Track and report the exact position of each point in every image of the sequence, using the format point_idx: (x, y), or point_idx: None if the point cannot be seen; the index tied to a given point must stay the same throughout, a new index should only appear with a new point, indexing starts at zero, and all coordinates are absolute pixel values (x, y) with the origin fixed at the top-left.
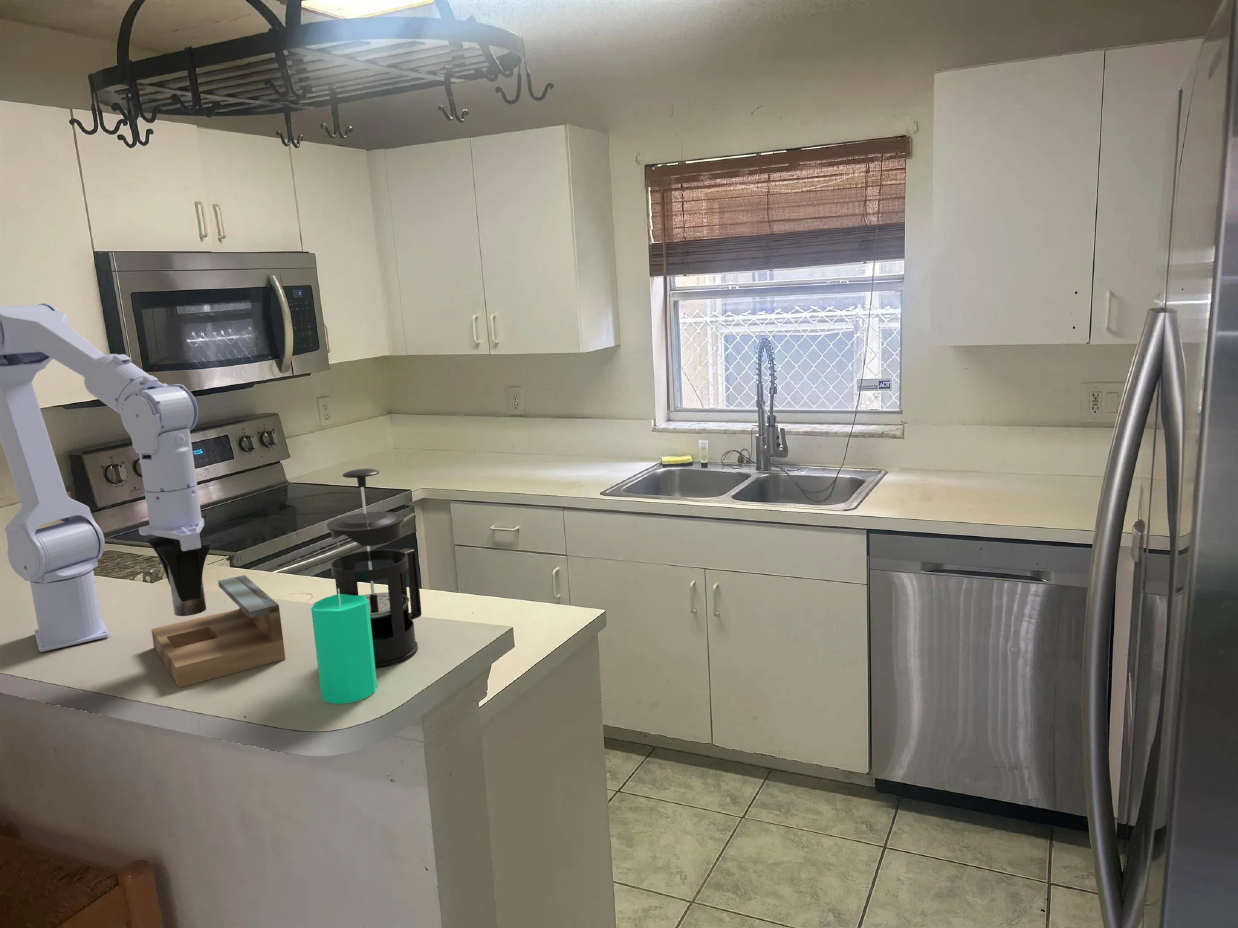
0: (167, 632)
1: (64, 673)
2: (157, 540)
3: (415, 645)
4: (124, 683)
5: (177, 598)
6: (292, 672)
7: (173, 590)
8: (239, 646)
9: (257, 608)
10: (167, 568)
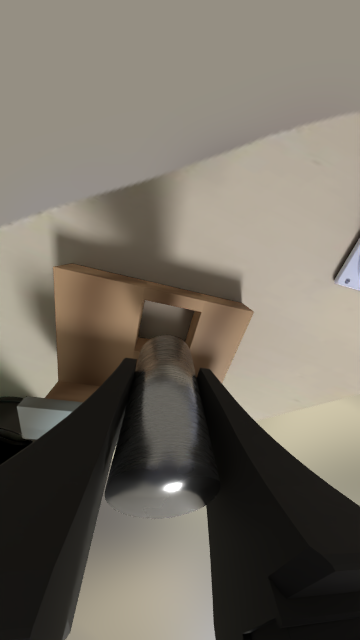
0: (217, 319)
1: (273, 175)
2: (321, 585)
3: (1, 445)
4: (150, 220)
5: (149, 358)
6: (25, 362)
7: (157, 368)
8: (75, 353)
9: (27, 417)
10: (223, 417)
